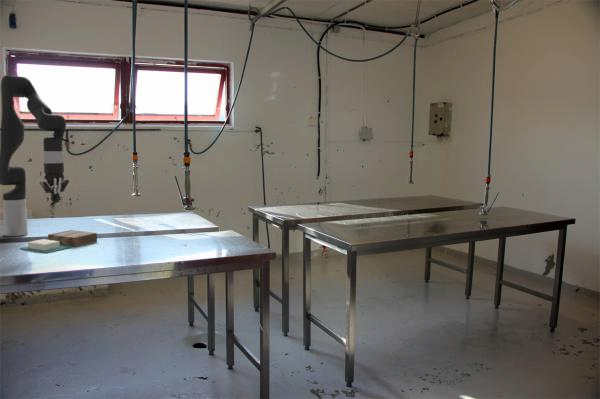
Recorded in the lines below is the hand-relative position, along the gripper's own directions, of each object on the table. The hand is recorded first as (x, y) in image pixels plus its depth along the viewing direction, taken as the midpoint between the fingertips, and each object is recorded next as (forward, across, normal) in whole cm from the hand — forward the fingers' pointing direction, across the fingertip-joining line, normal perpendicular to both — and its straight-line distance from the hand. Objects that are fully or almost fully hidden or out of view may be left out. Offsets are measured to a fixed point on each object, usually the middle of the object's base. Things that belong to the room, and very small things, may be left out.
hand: (55, 202), depth 197 cm
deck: (+19, -7, +1) cm, 20 cm away
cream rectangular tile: (+16, +7, +1) cm, 17 cm away
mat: (+19, +6, +1) cm, 20 cm away
